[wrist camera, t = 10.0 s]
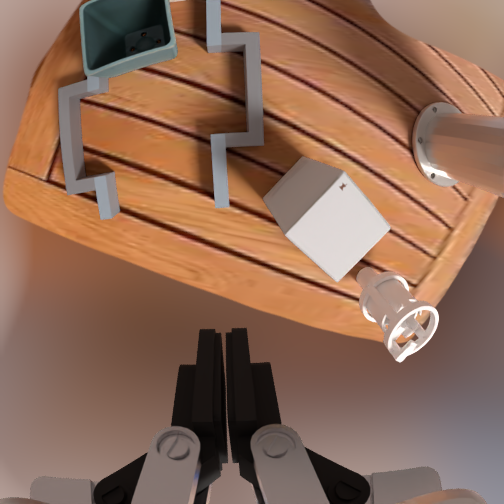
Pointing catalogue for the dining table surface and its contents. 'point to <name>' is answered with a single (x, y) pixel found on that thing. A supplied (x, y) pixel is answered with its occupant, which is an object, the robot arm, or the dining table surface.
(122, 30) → the flower pot
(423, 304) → the white plastic fitting
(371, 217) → the supplement box
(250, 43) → the stepped grey frame
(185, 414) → the robot arm
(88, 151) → the dining table surface
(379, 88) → the dining table surface
